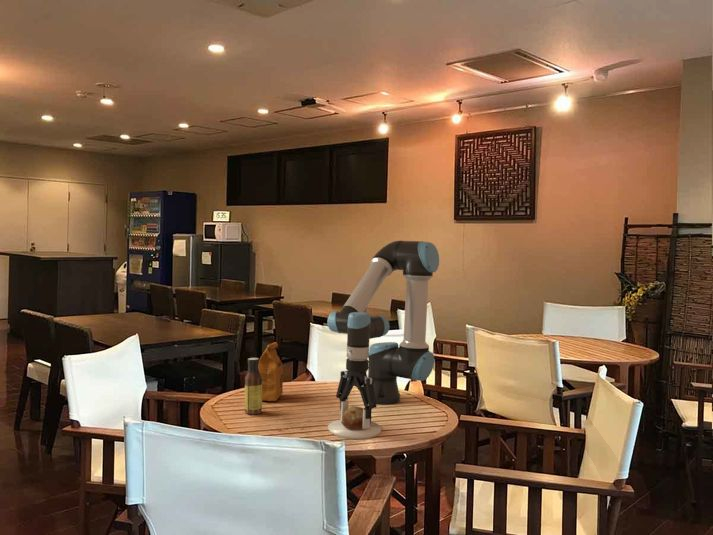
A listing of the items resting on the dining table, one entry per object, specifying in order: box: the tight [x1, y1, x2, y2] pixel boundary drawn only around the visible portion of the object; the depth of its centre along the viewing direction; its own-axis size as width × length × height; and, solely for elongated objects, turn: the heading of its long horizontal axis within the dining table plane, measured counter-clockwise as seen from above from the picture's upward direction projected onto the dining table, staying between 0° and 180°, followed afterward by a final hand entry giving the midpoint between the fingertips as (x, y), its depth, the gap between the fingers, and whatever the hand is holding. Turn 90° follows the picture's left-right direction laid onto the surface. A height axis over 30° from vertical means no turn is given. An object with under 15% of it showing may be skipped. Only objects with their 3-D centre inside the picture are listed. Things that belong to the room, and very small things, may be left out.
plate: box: [327, 419, 382, 440], centre depth 203 cm, size 18×18×1 cm
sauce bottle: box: [244, 357, 263, 415], centre depth 218 cm, size 7×6×20 cm
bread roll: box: [341, 405, 373, 429], centre depth 203 cm, size 10×10×8 cm
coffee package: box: [258, 341, 284, 402], centre depth 237 cm, size 10×12×22 cm
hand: (354, 423), depth 203 cm, fingers closed on bread roll, 10 cm apart
